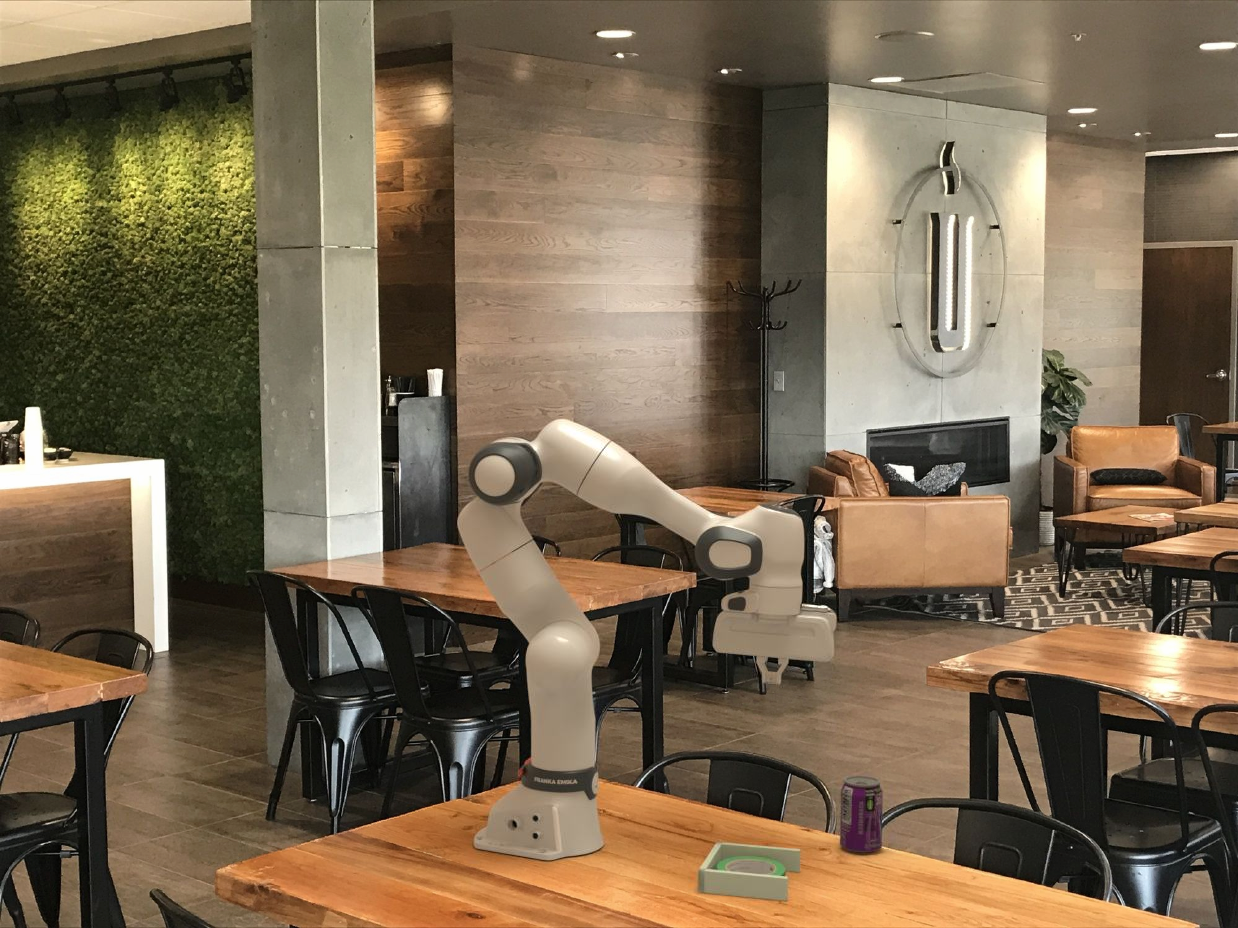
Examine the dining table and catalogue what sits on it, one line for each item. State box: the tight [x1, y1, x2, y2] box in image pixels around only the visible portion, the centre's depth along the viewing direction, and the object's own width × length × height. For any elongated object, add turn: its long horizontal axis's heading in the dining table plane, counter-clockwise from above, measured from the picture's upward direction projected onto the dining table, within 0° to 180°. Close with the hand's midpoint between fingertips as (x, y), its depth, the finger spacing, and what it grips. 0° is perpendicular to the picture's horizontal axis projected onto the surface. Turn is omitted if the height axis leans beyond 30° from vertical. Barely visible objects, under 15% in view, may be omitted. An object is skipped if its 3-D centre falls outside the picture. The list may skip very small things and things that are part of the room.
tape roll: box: [717, 856, 787, 876], centre depth 234 cm, size 11×11×3 cm
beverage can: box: [839, 775, 884, 855], centre depth 251 cm, size 7×7×12 cm
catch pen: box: [697, 841, 802, 902], centre depth 234 cm, size 14×15×4 cm
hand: (771, 683), depth 245 cm, fingers closed
